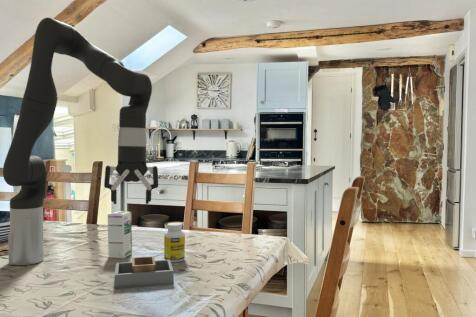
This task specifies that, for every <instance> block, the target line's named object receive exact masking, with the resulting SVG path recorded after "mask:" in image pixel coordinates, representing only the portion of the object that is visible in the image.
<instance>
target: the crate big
mask: <svg viewBox="0 0 476 317" xmlns="http://www.w3.org/2000/svg"><path fill="white" fill-rule="evenodd" d="M155 264H156V271H151V272H137V273H132V261H127V262H125V261H124V262H123V261H122V262H116V263H115V269H114V289H124V288H125V289H127V288H137V287H149V286H150V287H151V286H162V285H163V286H164V285H174V268H173V265H172V262H171V261H170V259H169V260H165V259H158V260H157V259H155Z"/></svg>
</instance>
